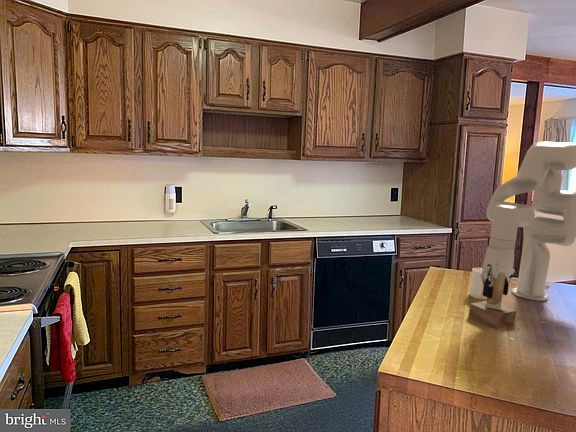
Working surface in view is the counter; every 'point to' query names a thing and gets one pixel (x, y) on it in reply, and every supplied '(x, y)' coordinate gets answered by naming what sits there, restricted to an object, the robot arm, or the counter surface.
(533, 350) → the counter surface
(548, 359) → the counter surface
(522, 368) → the counter surface
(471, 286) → the mug
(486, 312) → the walnut block
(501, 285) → the skincare box
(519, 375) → the counter surface
